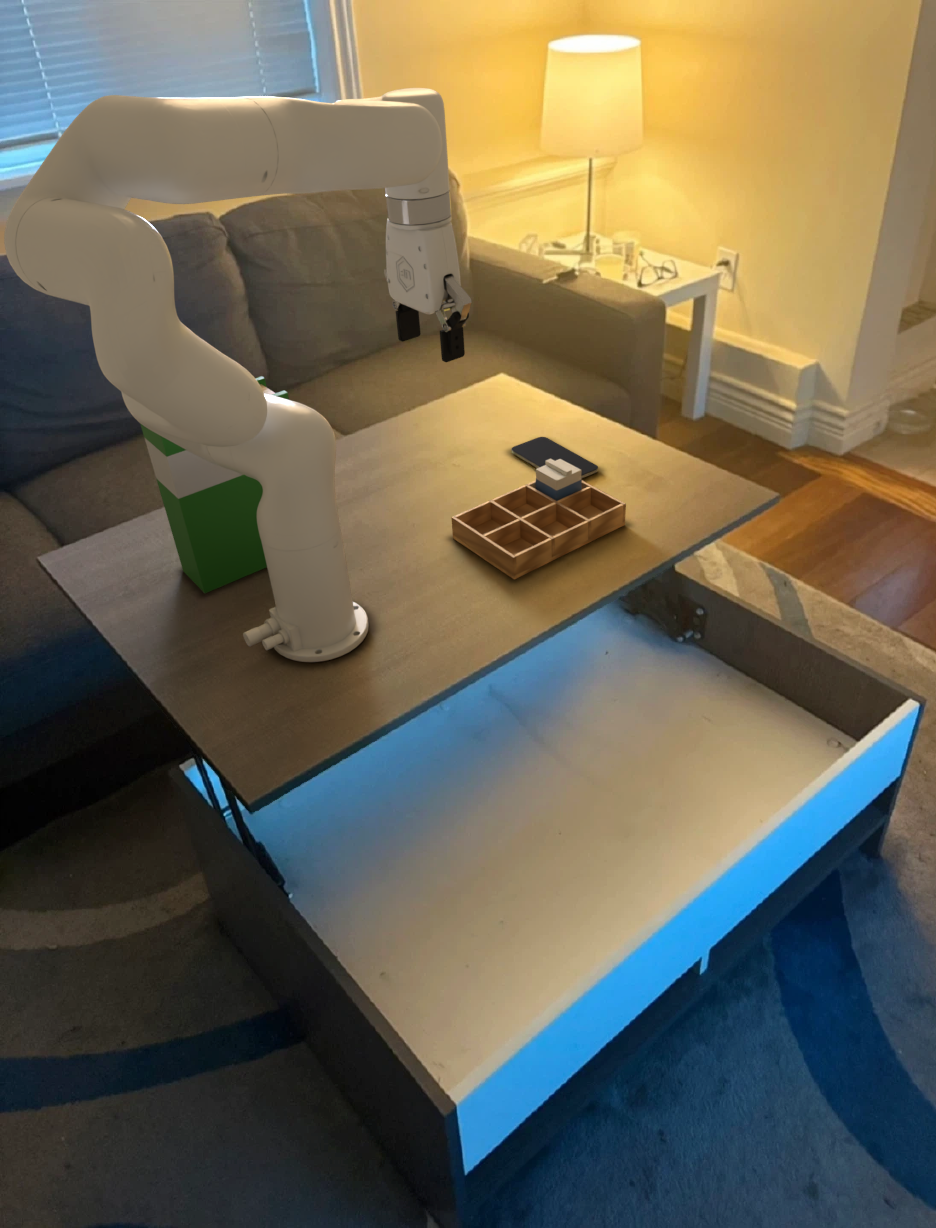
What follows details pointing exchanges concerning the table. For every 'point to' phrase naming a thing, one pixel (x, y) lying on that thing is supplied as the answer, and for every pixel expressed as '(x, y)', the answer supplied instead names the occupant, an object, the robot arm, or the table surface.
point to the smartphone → (551, 455)
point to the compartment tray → (536, 526)
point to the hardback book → (209, 512)
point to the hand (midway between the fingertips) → (431, 348)
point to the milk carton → (558, 479)
